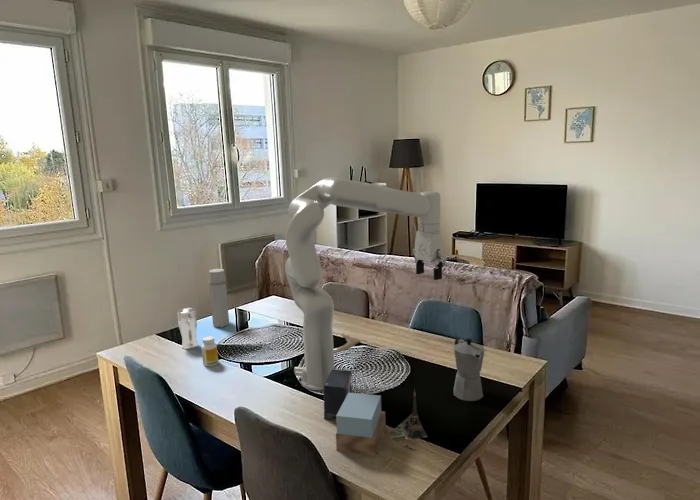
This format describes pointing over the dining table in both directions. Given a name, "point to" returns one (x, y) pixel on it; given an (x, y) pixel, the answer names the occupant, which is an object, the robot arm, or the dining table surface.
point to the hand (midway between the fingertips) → (428, 276)
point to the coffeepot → (468, 370)
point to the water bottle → (218, 297)
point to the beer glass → (188, 327)
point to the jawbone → (348, 345)
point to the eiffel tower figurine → (409, 428)
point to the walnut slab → (362, 440)
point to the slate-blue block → (359, 415)
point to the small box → (336, 392)
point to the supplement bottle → (209, 351)
